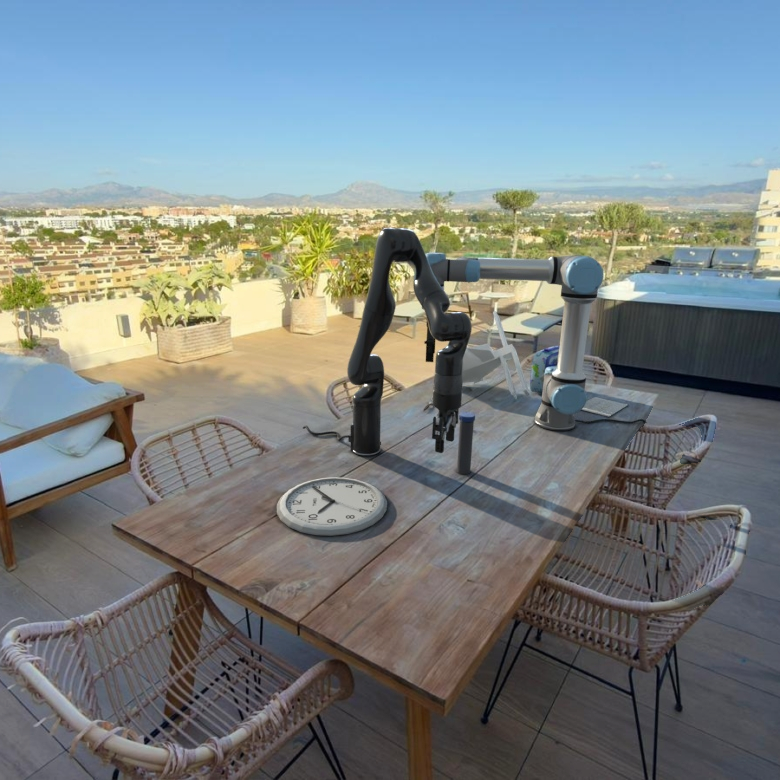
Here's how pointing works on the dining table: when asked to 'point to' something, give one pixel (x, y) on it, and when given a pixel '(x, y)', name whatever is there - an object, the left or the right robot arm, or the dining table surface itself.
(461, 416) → the lid
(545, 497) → the dining table surface
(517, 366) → the white plastic object
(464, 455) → the bottle
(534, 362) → the lunch box
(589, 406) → the grey flat rectangular slab
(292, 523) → the wall clock
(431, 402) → the fork
